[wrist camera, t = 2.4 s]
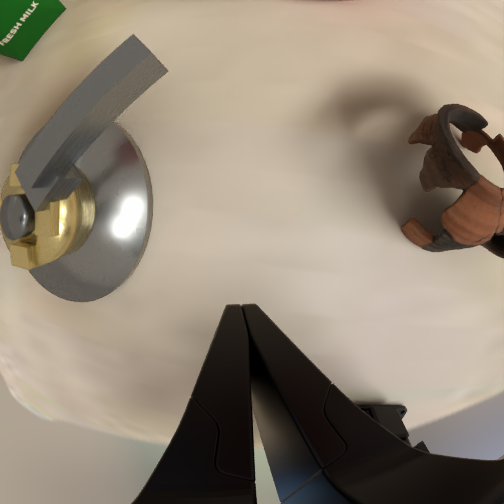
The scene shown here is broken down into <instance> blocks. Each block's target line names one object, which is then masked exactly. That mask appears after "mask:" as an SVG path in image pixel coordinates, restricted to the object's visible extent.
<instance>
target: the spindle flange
mask: <svg viewBox="0 0 504 504" xmlns="http://www.w3.org/2000/svg"><path fill="white" fill-rule="evenodd" d="M45 126H46V125H45ZM45 126H44V127H45ZM44 127H43V128H42V129H41V130H40V131H39V132H38V133H37V134H36V135H35V136H34V137H33V138H32V140H31V141H30V142H29V144H28V145H27V147H26V148H25V150H24V152H23V154H22V156H21V158H20V160H19V162H18V164H20V162H21V161H22V159H23V158H24V156H25V155H26V153H27V151H28V150H29V148H30V147H31V145H32V144H33V143H34V141H35V140H36V138H37V137H38V135H39V134H40V133H41V131H42V130H43V129H44ZM75 166H76V167H77V168H79V169H80V170H81V171H82V172H83V173H84V175H85V176H86V178H87V179H88V181H89V183H90V186H91V189H92V192H93V197H94V204H95V214H94V222H93V226H92V230H91V233H90V235H89V237H88V239H87V241H86V242H85V244H84V245H83V246H82V247H81V248H80V249H79V250H77V251H76V252H74V253H72V254H69V255H67V256H64V257H62V258H59V259H57V260H54V261H52V262H49V263H47V264H44V265H42V266H39V267H34V268H32V269H29V272H30V273H31V274H32V276H33V277H34V278H35V279H36V280H37V281H38V282H39V283H40V284H41V285H42V286H43V287H44V288H45V289H47V290H48V291H49V292H51V293H52V294H54V295H56V296H58V297H60V298H63V299H65V300H69V301H74V302H88V301H94V300H97V299H99V298H102V297H104V296H106V295H108V294H109V293H111V292H112V291H114V290H115V289H117V288H118V287H119V286H120V285H122V284H123V283H124V282H125V281H126V280H127V279H128V278H129V277H130V276H131V274H132V273H133V272H134V270H135V269H136V267H137V266H138V264H139V262H140V260H141V258H142V256H143V254H144V251H145V248H146V246H147V243H148V239H149V235H150V231H151V225H152V217H153V196H152V186H151V181H150V176H149V172H148V169H147V166H146V163H145V160H144V158H143V156H142V154H141V151H140V149H139V148H138V146H137V145H136V143H135V141H134V140H133V139H132V137H131V136H130V135H129V134H128V133H127V132H126V131H125V130H124V129H123V128H122V127H121V126H119V125H118V124H117V123H115V122H112V123H111V124H110V125H109V126H108V127H107V128H106V130H105V131H104V132H103V133H102V134H101V135H100V136H99V137H98V138H97V139H96V140H95V141H94V143H93V144H92V145H91V146H90V147H89V148H88V149H87V151H86V152H85V153H84V154H83V155H82V156H81V158H80V159H79V160H78V161H77V162H76V164H75ZM0 224H1V228H2V231H3V233H4V235H5V236H6V237H7V238H8V239H10V240H17V239H20V238H24V237H27V236H29V235H30V234H31V233H32V232H33V230H34V228H35V211H34V209H33V207H32V205H31V204H30V202H29V200H28V198H27V196H26V194H14V195H8V196H7V197H6V198H5V199H4V200H3V202H2V205H1V208H0Z"/></svg>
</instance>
